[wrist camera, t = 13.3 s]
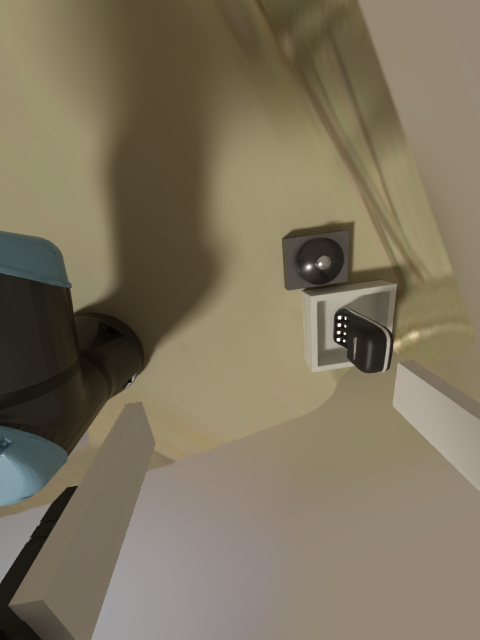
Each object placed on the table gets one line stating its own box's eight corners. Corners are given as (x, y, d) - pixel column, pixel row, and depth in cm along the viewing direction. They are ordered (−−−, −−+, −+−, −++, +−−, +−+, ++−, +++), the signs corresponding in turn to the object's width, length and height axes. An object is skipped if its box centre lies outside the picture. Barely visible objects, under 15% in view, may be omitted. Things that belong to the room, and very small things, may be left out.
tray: (304, 361, 44) (312, 372, 41) (302, 291, 40) (310, 296, 36) (374, 350, 45) (388, 360, 41) (380, 279, 40) (397, 284, 36)
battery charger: (329, 308, 40) (368, 334, 29) (350, 306, 40) (397, 331, 29) (328, 344, 42) (363, 380, 32) (348, 342, 43) (390, 376, 32)
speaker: (284, 287, 39) (292, 293, 35) (281, 238, 37) (289, 239, 32) (341, 279, 40) (356, 284, 35) (342, 230, 37) (358, 229, 33)
